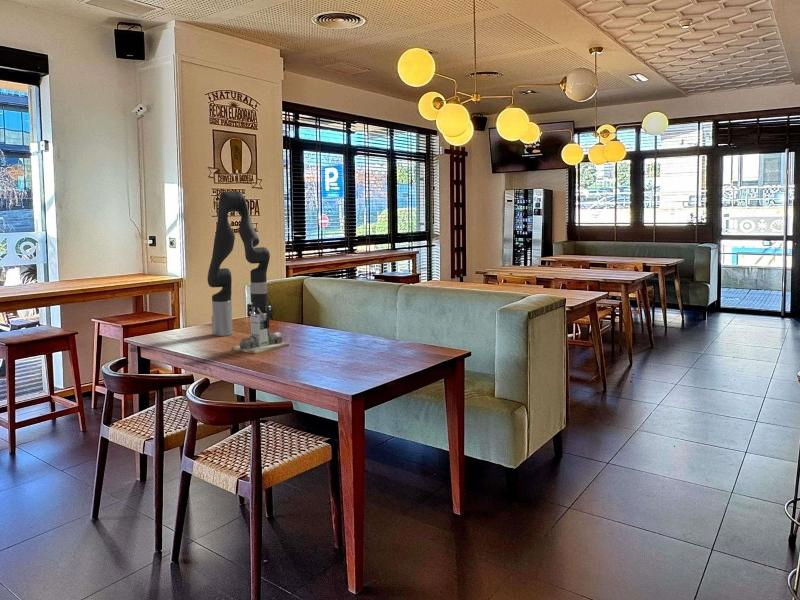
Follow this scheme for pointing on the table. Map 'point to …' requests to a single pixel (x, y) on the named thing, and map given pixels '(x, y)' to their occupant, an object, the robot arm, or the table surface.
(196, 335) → the table surface
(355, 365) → the table surface
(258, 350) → the shaft bed
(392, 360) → the table surface
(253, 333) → the syrup box
